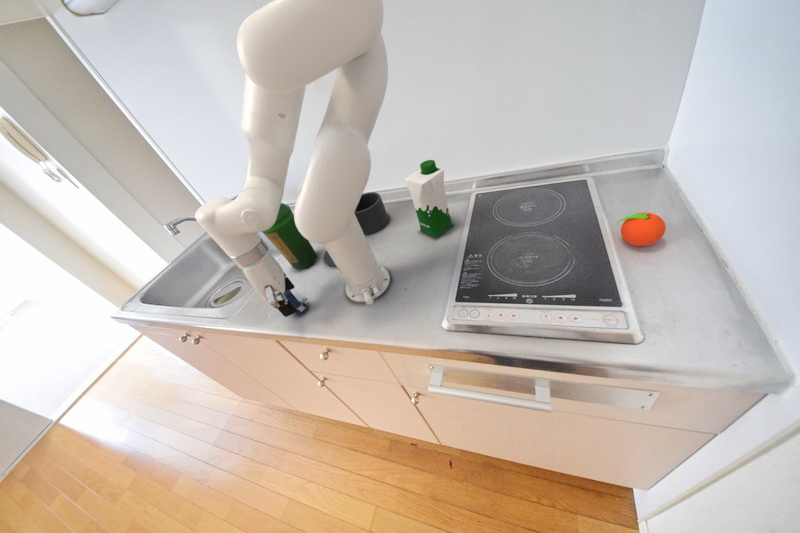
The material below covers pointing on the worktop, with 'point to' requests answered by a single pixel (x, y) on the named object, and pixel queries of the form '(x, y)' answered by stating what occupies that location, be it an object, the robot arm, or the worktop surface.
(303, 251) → the bottle
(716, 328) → the worktop surface
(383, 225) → the dark grey cup
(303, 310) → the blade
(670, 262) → the worktop surface
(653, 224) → the clementine
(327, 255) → the lid
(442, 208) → the milk carton
